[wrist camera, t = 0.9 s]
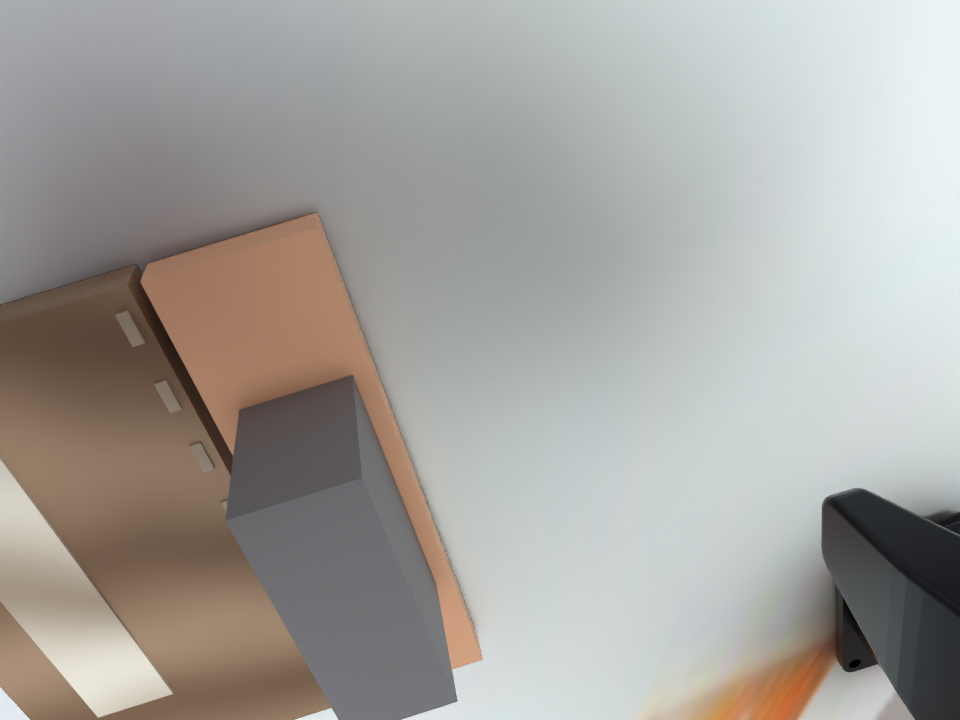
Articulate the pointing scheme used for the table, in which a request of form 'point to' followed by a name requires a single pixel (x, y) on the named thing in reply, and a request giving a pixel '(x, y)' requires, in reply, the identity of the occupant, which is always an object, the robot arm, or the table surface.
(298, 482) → the stub
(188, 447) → the brown flat board
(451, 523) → the table surface
